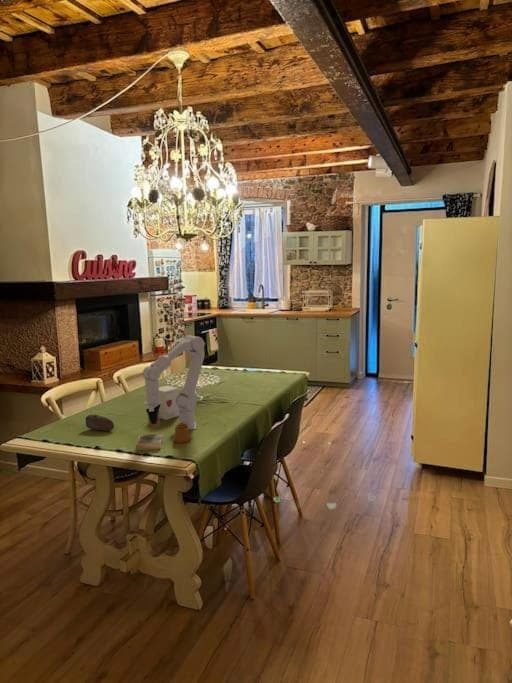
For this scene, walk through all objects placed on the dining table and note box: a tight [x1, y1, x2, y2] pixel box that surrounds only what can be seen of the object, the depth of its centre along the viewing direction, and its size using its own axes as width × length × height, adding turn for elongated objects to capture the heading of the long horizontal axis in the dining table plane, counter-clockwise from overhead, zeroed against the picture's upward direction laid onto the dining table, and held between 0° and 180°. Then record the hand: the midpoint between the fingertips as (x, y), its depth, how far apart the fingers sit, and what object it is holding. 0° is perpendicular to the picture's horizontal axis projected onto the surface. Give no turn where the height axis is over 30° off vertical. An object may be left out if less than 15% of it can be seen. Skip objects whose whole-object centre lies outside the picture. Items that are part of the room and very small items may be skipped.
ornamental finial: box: [173, 422, 192, 444], centre depth 216 cm, size 8×8×8 cm
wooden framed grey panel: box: [135, 433, 164, 451], centre depth 211 cm, size 10×10×3 cm
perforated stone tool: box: [85, 414, 115, 432], centre depth 232 cm, size 15×5×7 cm, turn 68°
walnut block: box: [147, 411, 161, 428], centre depth 221 cm, size 4×4×6 cm
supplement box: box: [159, 385, 179, 421], centre depth 249 cm, size 9×9×15 cm
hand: (154, 421), depth 221 cm, fingers closed on walnut block, 4 cm apart
